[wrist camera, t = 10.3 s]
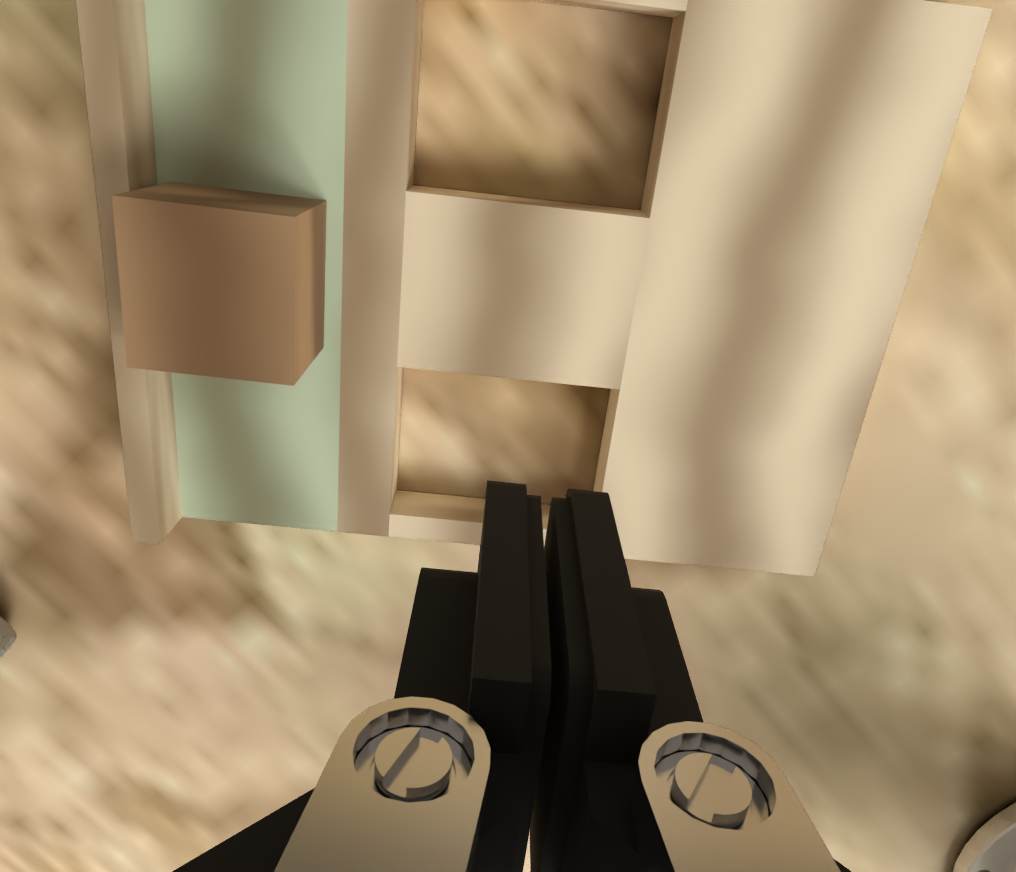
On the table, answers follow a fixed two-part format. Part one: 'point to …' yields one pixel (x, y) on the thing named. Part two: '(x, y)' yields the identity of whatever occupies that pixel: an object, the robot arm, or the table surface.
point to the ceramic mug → (6, 636)
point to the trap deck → (543, 262)
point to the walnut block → (221, 281)
